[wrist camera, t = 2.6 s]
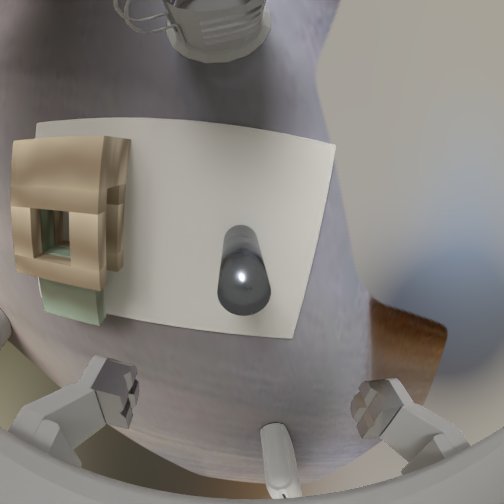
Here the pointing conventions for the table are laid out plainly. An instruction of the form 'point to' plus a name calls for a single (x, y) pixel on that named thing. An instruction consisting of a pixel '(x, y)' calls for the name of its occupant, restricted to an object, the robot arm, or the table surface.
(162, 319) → the mat
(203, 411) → the table surface
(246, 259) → the pin
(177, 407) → the table surface
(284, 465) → the white rounded slab
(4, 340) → the coffee cup
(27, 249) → the clevis
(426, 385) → the table surface
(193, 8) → the french press
